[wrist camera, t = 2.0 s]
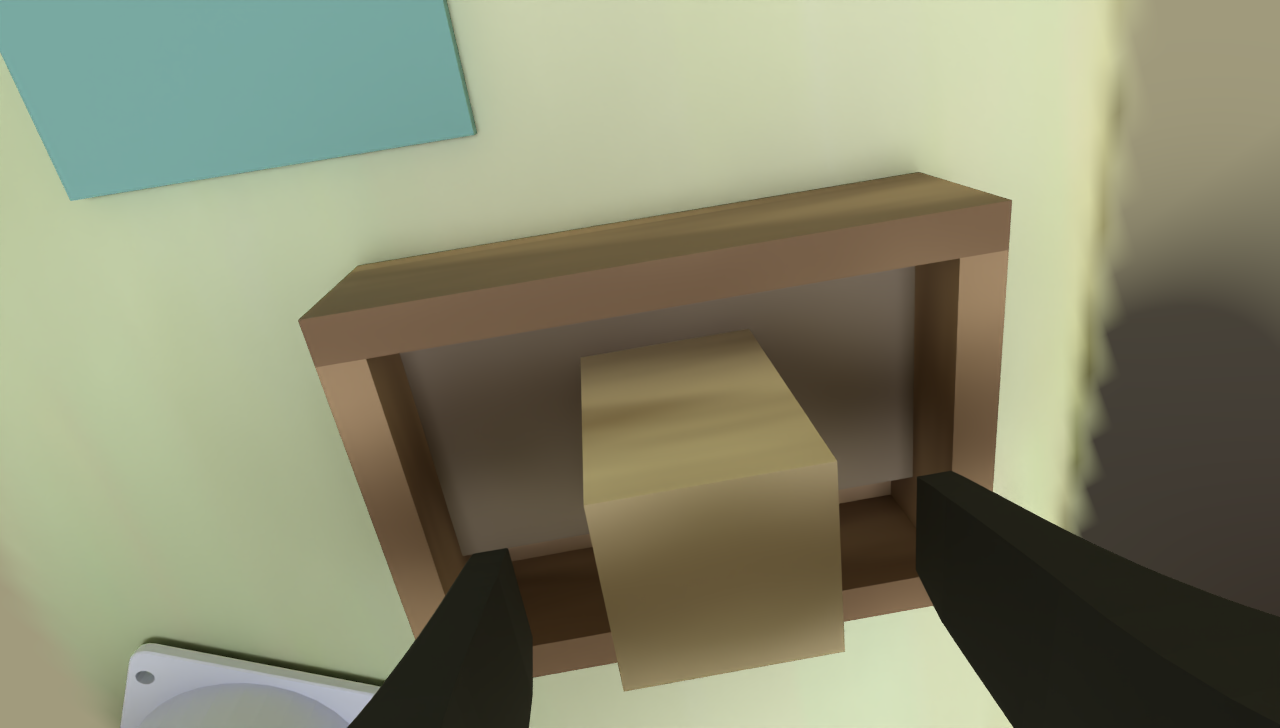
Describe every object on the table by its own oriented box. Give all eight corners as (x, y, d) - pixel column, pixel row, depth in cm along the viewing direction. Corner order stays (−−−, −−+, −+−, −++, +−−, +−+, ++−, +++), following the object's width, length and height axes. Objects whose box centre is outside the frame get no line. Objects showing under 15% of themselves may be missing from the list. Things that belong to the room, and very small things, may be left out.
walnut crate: (914, 504, 21) (986, 596, 18) (460, 585, 21) (435, 695, 17) (919, 172, 17) (1011, 200, 14) (358, 265, 17) (298, 320, 13)
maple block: (761, 472, 18) (844, 651, 12) (608, 499, 18) (624, 691, 12) (749, 329, 16) (837, 460, 11) (580, 357, 16) (583, 505, 11)
